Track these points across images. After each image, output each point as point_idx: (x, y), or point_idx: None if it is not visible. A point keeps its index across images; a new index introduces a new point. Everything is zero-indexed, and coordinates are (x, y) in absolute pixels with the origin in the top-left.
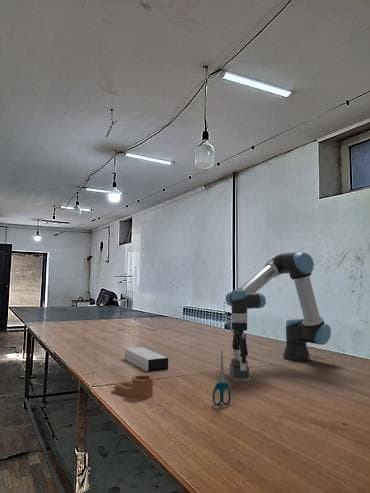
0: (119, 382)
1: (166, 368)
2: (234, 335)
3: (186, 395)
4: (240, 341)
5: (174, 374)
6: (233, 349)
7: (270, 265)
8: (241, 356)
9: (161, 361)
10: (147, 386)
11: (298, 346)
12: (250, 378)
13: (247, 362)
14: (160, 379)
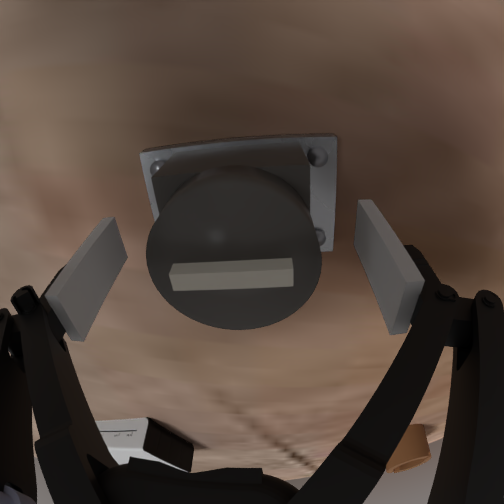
0: None
1: (152, 421)
2: (34, 490)
3: (446, 382)
4: (435, 488)
5: (215, 415)
6: (61, 339)
7: None
8: (408, 323)
9: (162, 450)
10: (428, 445)
11: None
12: (335, 139)
13: (260, 182)
14: (280, 434)
